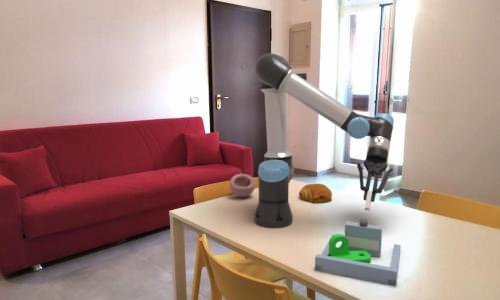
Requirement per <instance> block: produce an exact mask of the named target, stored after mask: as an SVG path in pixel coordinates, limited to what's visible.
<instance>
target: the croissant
mask: <svg viewBox="0 0 500 300" xmlns="http://www.w3.org/2000/svg"><path fill="white" fill-rule="evenodd" d="M298 194H299V195H298V196H299V197H300V199H301V200H304V201H306V202H309V203H310V202H311V204H312V203H314V204H319V203H327V202H330V201H332V200H333V199H332V198H333V197H332V195H333V192H332V190H331V189H330V188H329V187H328V186H326V184H323V183H310V184H309V183H308V184H306V185H304V186H303V187H301V189H300V190H299V192H298Z"/></svg>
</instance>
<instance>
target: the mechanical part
mask: <svg viewBox="0 0 500 300" xmlns="http://www.w3.org/2000/svg"><path fill="white" fill-rule="evenodd" d="M332 235H333V236H332ZM332 235H331V236H332V237H330V238H329V240H328V242H329V256H330V257H336V258H342V259H347V260H353V261H358V262H364V263H369V264H371V262H372V261H371V260H372V256H371V255H370V254H369V253H368V252H367V251H366V250H358V251H348V249H349V242H348V240H347V239H346V238H345V237H344V236H345V235H343V234H341V233H336V234H332ZM339 242H341V244H340V246H337V244H338V243H339Z"/></svg>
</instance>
